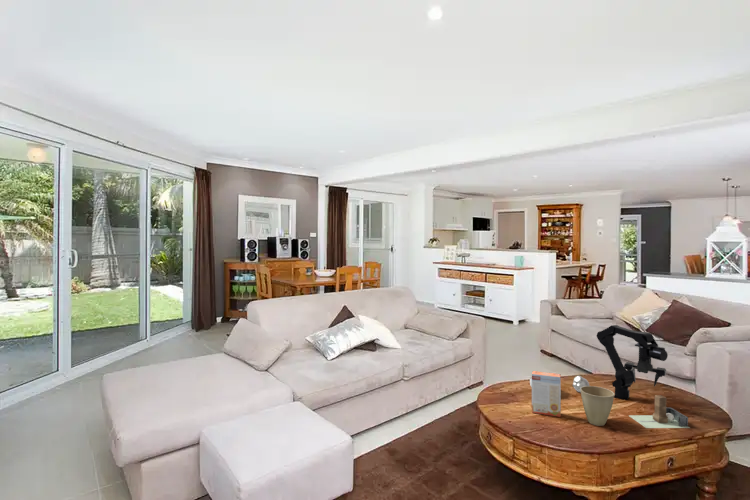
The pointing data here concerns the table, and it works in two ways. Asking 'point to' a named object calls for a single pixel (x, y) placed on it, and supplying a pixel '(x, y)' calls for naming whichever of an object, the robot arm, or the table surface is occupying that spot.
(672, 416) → the ball
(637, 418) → the pitch
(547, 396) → the cracker box
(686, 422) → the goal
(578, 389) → the shiny silver sphere
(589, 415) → the plant pot
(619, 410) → the table surface
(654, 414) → the block
